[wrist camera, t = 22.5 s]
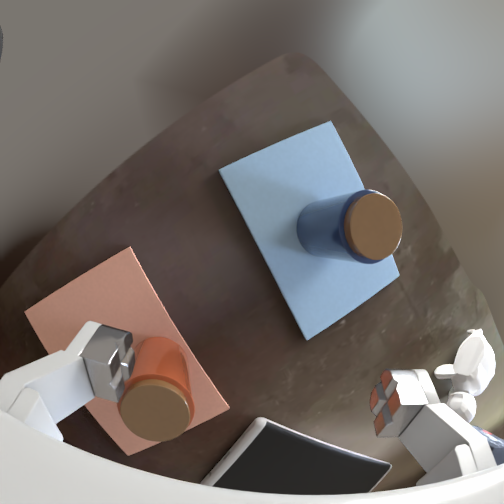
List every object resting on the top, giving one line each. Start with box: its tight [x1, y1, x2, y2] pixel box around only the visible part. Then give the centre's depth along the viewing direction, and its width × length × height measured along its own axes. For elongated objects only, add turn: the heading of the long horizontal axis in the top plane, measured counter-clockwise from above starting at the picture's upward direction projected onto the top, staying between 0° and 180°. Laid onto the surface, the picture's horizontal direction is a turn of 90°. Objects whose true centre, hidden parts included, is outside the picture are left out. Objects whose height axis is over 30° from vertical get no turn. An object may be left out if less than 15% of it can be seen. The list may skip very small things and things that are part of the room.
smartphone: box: [201, 417, 392, 495], centre depth 34 cm, size 13×27×2 cm, turn 55°
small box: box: [472, 426, 504, 466], centre depth 37 cm, size 13×7×12 cm, turn 64°
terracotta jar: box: [117, 337, 195, 442], centre depth 25 cm, size 6×6×10 cm
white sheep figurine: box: [434, 329, 495, 423], centre depth 36 cm, size 9×8×15 cm
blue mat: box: [219, 121, 399, 340], centre depth 33 cm, size 20×14×1 cm
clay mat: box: [25, 247, 230, 456], centre depth 29 cm, size 20×14×1 cm
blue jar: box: [297, 190, 402, 264], centre depth 28 cm, size 6×6×10 cm
